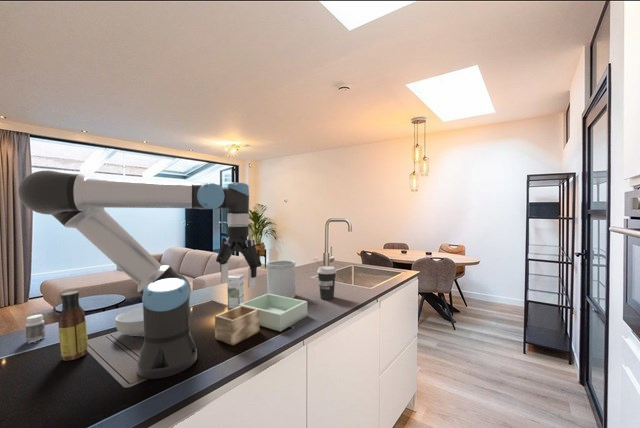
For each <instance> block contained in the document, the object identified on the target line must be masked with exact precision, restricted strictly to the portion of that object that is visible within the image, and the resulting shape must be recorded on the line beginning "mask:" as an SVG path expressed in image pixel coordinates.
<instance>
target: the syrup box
mask: <svg viewBox="0 0 640 428" xmlns="http://www.w3.org/2000/svg"><path fill="white" fill-rule="evenodd" d="M244 279H245V278H244V274H229V275H228V281H226V283H227V285H226V286H227V309H228V310H231V309H234V308H236V307H239V304H241V303H244V302H245V288H244V287H245V283H244V282H245V281H244Z"/></svg>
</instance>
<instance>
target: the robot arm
mask: <svg viewBox="0 0 640 428" xmlns="http://www.w3.org/2000/svg"><path fill="white" fill-rule="evenodd" d="M17 194H18V198H19V200H20V201H21V203H22V204H23V205H24V207H26V208H28V209H29V210H30V211H32V212H35V213H38V214H41V215H49V216H50V215H51V217H54V218H55V220H57V221H58V222H59V223H61V225H63V226H64V227H65V228H69V229H70V228H72V229H76V230H77V231H78V232H79V233H81V234H82V236H84V237H85V238H86V239H87V240H88V241H89V242H90V243H91V244H93V245H94V246H95V248H97V249H98V250H99V251H100V252H101V253H102V254H104V255H105V257H107V258H108V259H109V260H110V261H111V262H112V263H114V265H116V266H117V268H119V269H120V270H121V271H122V272H123V273H124V274H126V275H127V276H128V277H129V278H130V279H131V280H132V281H133V282H134V283H135V284H137V293H138V294H139V295H140V296H141V297H142V298H141V301H142V306H143V307H142V308H143V319H144V336H143V345H142V347H141V350H140V354H139V356H138V359H137V363H136V364H137V365H136V367H137V368H136V371H137V375H138V376H139V377H141V378H143V379H149V380H150V379H151V380H156V379H164V378H167V377H168V378H169V377H172V376H175V375H177V374H179V373H182V372H183V371H186V370H188V369H189V368H190V367H191V366H193V365H194V364H195V363H196V361H197V359H198V352H197V347H196V344H195V341H194V339H193V336H192V334H191V325H190V323H191V320H190V319H191V318H190V316H191V315H190V302H191V301H190V299H191V292H192V289H191V284H190V282H189V280H188V279H187V278H186V277H185V276H183V275H182V274H180V273H178V272H176V271H175V270H174V268H172V267H171V266H170V265H169V264H166V265H164V264H161V263H160V262H159V261H158V260H157V259H155V257H154V256H153V255H152V254H151V253H149V251H147V249H145V248H144V247H143V246H142V245H141V244H140V243H139V242H138V241H137V240H136V239H135V237H133V236H132V235H131V234H130V233H129V232H128V231H127V230H126V229H124V227H123V226H122V225H120V223H118V222H117V220H115V219H114V217H113V216H111V215H110V213H108V212H107V211H106V210H105V208H114V209H117V208H119V209H121V208H123V209H124V208H127V209H128V208H131V209H138V208H139V209H145V208H146V209H197V210H198V209H199V210H227V212H226V213H227V219H226V222H227V223H226V224H227V225H228V226H227V228H226V233H227V235H226V236H227V237H223V238H222V239H221V240H222V241H221V246H220V248H219V251H218V253H217V257H216V260H215V262H216V263H219V265H220V266H219V267H220V268H219V269H220V270H219V271H220V282H221V283H227V281H228V276H229V262H228V261H230V259H231V257H232V255H233V254H234V252H239V253H241V254H242V256H243V257H244V259H245V262H246V263H247V265H248V266H249V268H248V273H247V275H248V276H247V280H248V281H247V282H248V283H247V288H254V287H256V278H257V275H258V273H257V269H258V268H259V267H262V261H261V260H260V257H259V254H258V251H257V248H256V244H255V243H256V242H255V240H254V239H248V237H249V236H250V227H249V226H248V225H249V223H250V220H249V219H250V218H249V216H250V213H249V212H250V188H249V184H247V183H245V182H228V183H227V186H226V187H221V186H220V185H219V184H216V183H213V182H207V183H193V182H192V183H191V182H175V181H174V182H168V181H153V180H152V181H149V180H147V181H146V180H131V179H130V180H128V179H124V180H123V179H107V178H103V179H102V178H88V177H86V176H85V175H84V174H82V173H81V174H79V173H66V172H59V171H55V170H48V169H47V170H39V171H35V172H32V173H31V174H28V175H26V176H25V177H24V178H23V179H22V180H21V181H20V182H19V186H18V188H17Z"/></svg>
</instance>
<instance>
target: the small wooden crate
mask: <svg viewBox="0 0 640 428" xmlns="http://www.w3.org/2000/svg"><path fill="white" fill-rule="evenodd" d="M259 332H260V325H259V309H255V308H251V307H247V306H243V305H241V306H239V307H236V308H234V309H228V310H227V311H224V312H220V313H219V314H216V315H214V336H215V337H214V338H215V340H216V341H220V342H223V343H225V344H228V345H231V346H235V345H237V344H238V343H240V342H242V341H244V340H246V339H249V338H250V337H252V336H254V335H255V334H258V333H259Z"/></svg>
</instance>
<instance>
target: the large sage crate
mask: <svg viewBox="0 0 640 428" xmlns="http://www.w3.org/2000/svg"><path fill="white" fill-rule="evenodd" d="M241 305H243V306H247V307H251V308H255V309H259V327H260V326H261V327H264V328H267V329H271V330H274V331H278V332H282V331H283V330H286V329H287V328H289V327H291V326H293V325H294V324H296V323H298V322H299V321H301V320H302V319H305V318H306V317H308V315H309V314H308V301H307V300H302V299H297V298H288V297H283V296H278V295H273V294H268V293H265V294H262V295H260V296H257V297H254V298H252V299H250V300H246V301H244V303H241V304H239V306H241Z"/></svg>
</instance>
